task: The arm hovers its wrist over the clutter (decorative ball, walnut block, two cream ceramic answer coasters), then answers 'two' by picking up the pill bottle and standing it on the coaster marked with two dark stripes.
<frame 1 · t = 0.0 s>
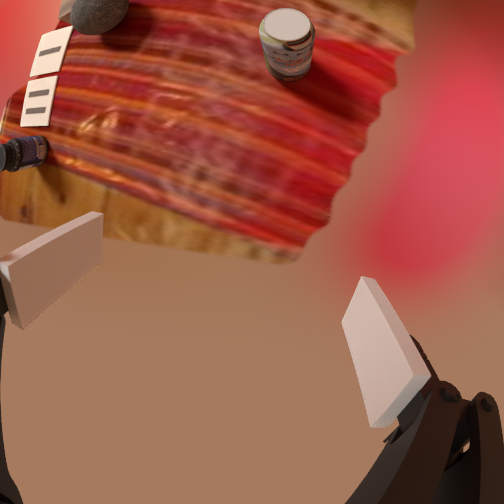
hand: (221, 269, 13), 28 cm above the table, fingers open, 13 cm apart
walnut block: (84, 10, 28), on the table
coaster one: (50, 51, 31), on the table
pill bottle: (40, 150, 39), on the table
coaster two: (38, 102, 35), on the table
decorative ball: (114, 18, 29), on the table
beverage can: (286, 61, 32), on the table
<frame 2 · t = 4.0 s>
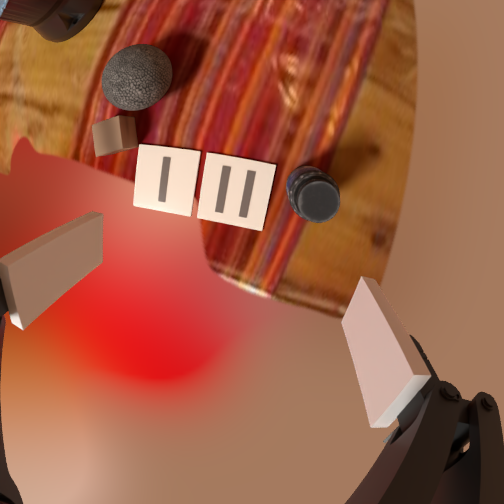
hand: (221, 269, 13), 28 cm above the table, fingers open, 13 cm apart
walnut block: (123, 135, 37), on the table
coaster one: (165, 179, 40), on the table
pill bottle: (306, 185, 39), on the table
coaster two: (235, 191, 40), on the table
decorative ball: (151, 83, 34), on the table
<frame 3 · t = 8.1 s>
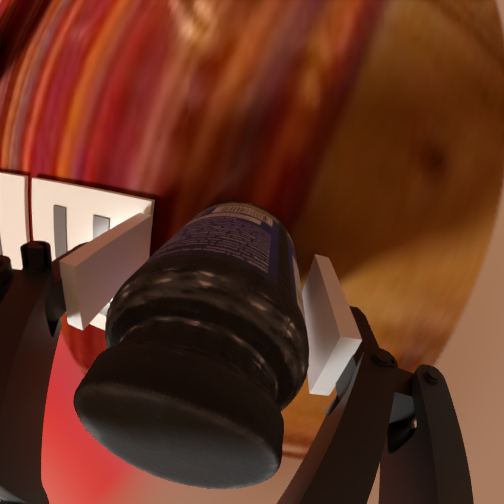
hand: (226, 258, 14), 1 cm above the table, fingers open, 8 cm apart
pill bottle: (238, 255, 15), on the table
coaster two: (83, 260, 16), on the table
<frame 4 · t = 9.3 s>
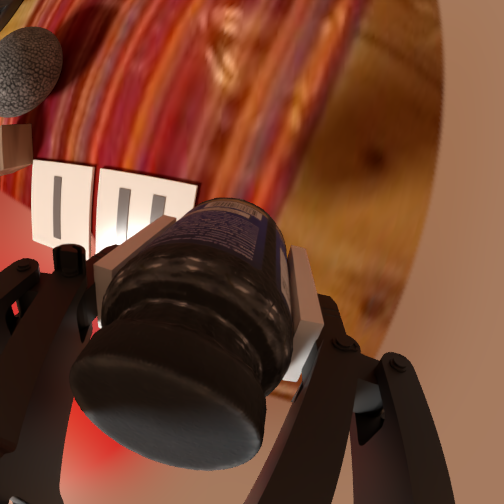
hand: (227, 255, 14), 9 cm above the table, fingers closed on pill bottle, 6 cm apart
walnut block: (21, 148, 23), on the table
coaster one: (59, 207, 25), on the table
pill bottle: (230, 249, 15), point 8 cm above the table, touching gripper
coaster two: (139, 227, 24), on the table
decorative ball: (51, 76, 19), on the table
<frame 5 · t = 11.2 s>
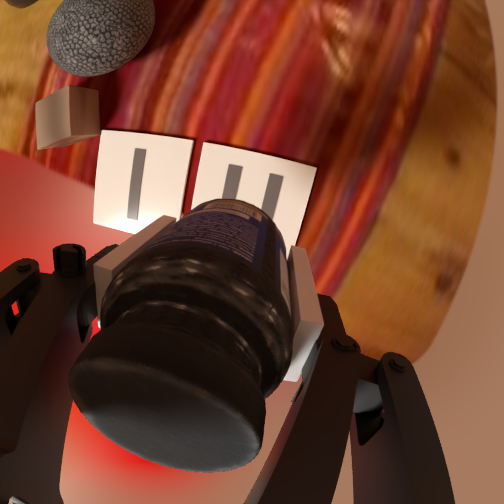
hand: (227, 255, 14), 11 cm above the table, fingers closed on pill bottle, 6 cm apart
walnut block: (82, 118, 22), on the table
coaster one: (137, 184, 25), on the table
pill bottle: (230, 250, 15), point 10 cm above the table, touching gripper
coaster two: (247, 207, 25), on the table
decorative ball: (126, 40, 19), on the table
when the fingers open (2 cm above the table, at t = 13.5 s): pill bottle stays where it is, resting on coaster two.
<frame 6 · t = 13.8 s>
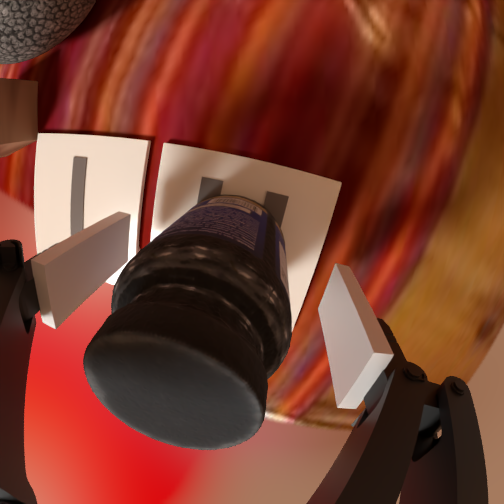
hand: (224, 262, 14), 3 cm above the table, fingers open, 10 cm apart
walnut block: (20, 119, 14), on the table
coaster one: (80, 206, 16), on the table
pill bottle: (232, 244, 16), resting on coaster two
coaster two: (233, 243, 16), on the table
decorative ball: (74, 14, 11), on the table
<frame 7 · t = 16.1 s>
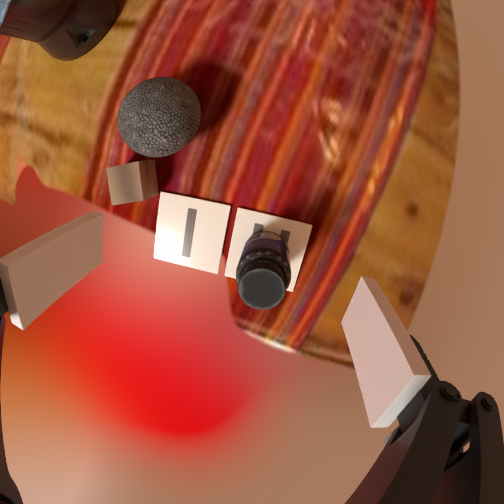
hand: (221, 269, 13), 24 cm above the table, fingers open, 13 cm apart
walnut block: (141, 179, 36), on the table
coaster one: (189, 232, 38), on the table
pill bottle: (266, 251, 38), resting on coaster two
coaster two: (266, 250, 38), on the table
decorative ball: (174, 120, 33), on the table
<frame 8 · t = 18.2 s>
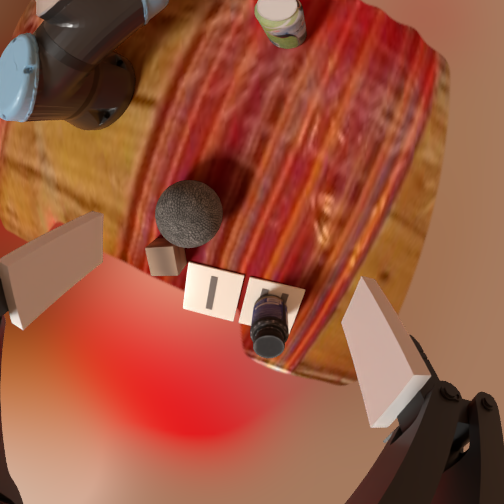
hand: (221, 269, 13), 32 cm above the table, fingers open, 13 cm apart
walnut block: (171, 250, 48), on the table
coaster one: (212, 292, 50), on the table
pill bottle: (270, 307, 50), resting on coaster two
coaster two: (270, 306, 50), on the table
decorative ball: (198, 206, 45), on the table
beverage can: (282, 36, 33), on the table
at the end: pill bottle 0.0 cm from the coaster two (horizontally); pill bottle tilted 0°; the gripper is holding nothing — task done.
